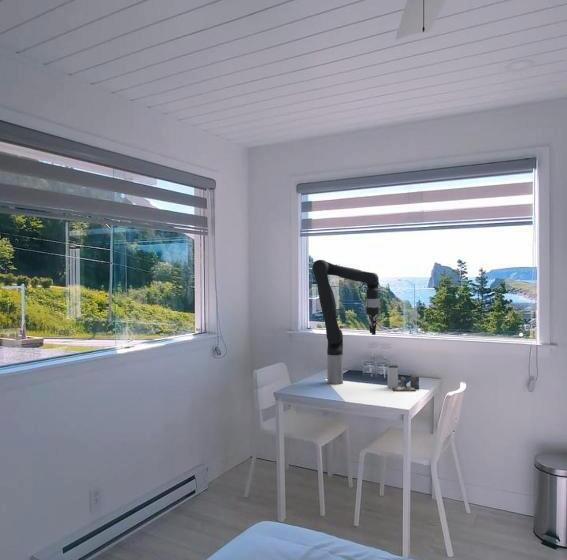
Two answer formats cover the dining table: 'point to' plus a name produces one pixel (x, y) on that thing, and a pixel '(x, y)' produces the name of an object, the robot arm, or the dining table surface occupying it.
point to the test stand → (413, 383)
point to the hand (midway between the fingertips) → (372, 333)
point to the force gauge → (392, 376)
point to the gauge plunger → (403, 382)
